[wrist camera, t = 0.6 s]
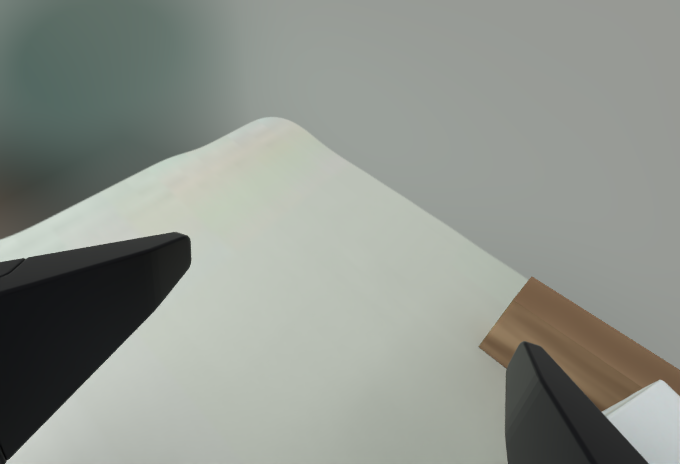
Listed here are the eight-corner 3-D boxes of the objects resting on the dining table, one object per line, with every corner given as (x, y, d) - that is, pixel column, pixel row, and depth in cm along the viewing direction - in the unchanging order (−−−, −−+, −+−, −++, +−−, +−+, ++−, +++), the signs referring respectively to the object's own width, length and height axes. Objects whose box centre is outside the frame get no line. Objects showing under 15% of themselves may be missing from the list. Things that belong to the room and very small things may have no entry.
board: (717, 534, 19) (842, 523, 14) (478, 346, 25) (513, 299, 21) (725, 493, 20) (842, 472, 15) (495, 325, 26) (531, 276, 22)
